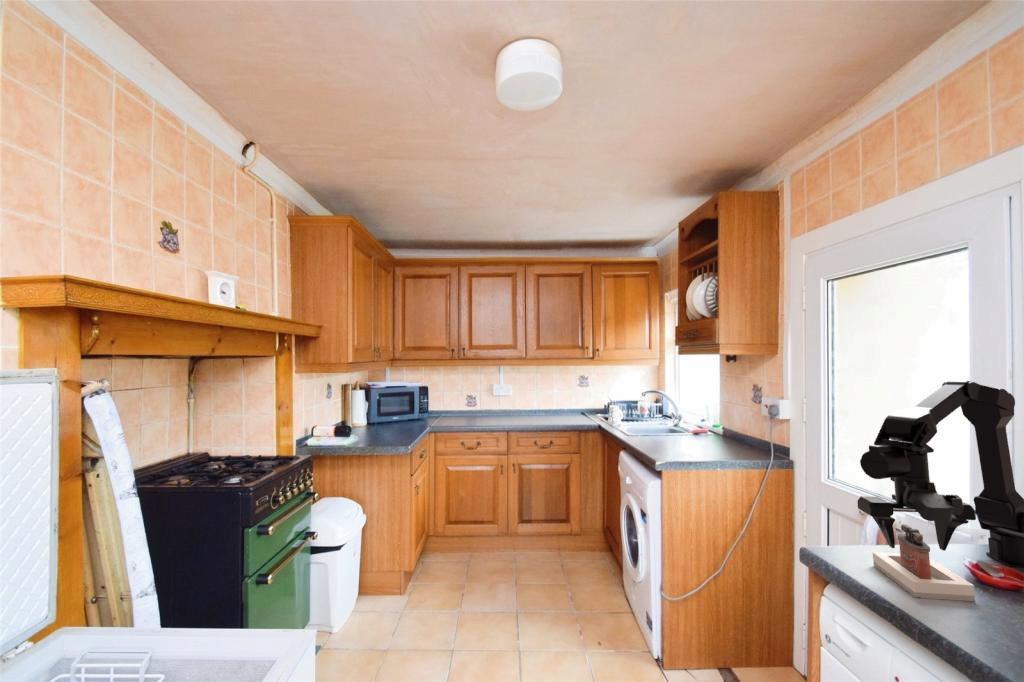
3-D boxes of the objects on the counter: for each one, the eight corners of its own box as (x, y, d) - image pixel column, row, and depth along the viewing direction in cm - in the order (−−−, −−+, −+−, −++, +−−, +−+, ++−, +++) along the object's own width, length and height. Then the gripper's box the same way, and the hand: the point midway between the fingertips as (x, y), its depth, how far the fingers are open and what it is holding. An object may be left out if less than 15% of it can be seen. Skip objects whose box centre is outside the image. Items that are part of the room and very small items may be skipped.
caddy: (924, 568, 100) (923, 554, 100) (975, 601, 86) (973, 585, 86) (873, 565, 102) (872, 552, 102) (915, 597, 88) (913, 581, 88)
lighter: (938, 586, 90) (933, 536, 90) (917, 585, 91) (913, 535, 91) (914, 568, 98) (910, 522, 98) (895, 567, 98) (892, 521, 99)
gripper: (883, 483, 89) (890, 563, 88) (995, 485, 85) (1003, 568, 84) (853, 470, 100) (859, 540, 99) (951, 471, 96) (957, 545, 95)
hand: (917, 548), depth 94 cm, fingers open, 9 cm apart
